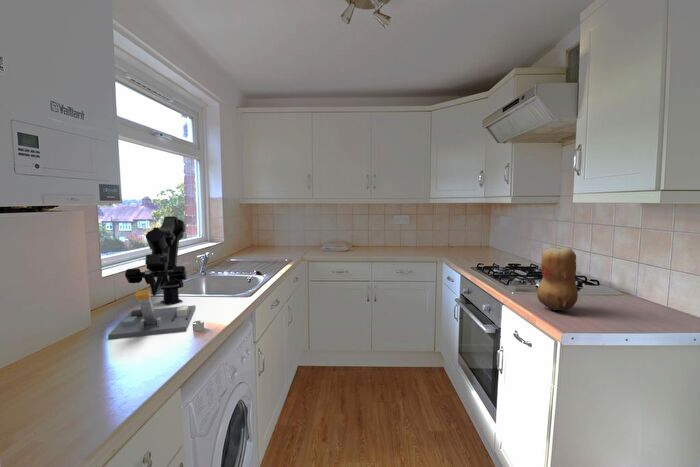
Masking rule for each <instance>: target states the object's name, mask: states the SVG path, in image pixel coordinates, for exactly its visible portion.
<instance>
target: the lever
mask: <svg viewBox="0 0 700 467" xmlns="http://www.w3.org/2000/svg"><path fill="white" fill-rule="evenodd" d="M151 295H152V292H151V289H148V290H147V289H145V290H136V291H135V294H134V297H135V300H136V301H137V303H138V304H139V308H140V309H141V311H142V314H143V318H144V326H152V325H157V319H156V316H155V312H154V309H155V308H154V306H153V302H152V298H151Z"/></svg>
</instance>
